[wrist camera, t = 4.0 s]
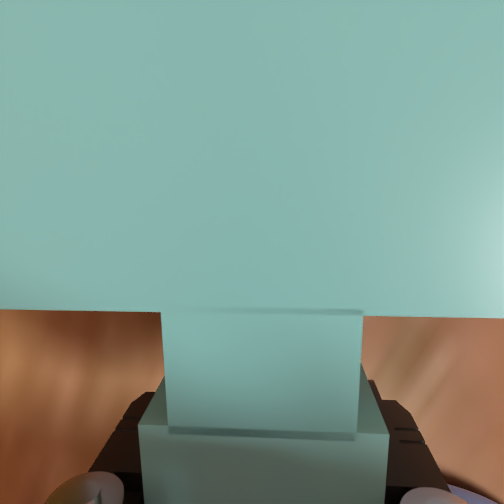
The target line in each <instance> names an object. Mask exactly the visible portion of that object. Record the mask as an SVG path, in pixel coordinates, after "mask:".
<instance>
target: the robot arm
mask: <svg viewBox="0 0 504 504" xmlns="http://www.w3.org/2000/svg"><path fill="white" fill-rule="evenodd" d="M368 382H369V385H370V387H371V390H372V392H373V395H374V397H375V400H376V402H377V405H378V407H379V410H380V412H381V415H382V417H383V420H384V422H385V425H386V427H387V430H388V432H389V447H388V461H387V474H386V487H385V500H384V504H468V503H467V502H466V501H464V500H463V499H461V498H460V497H458V496H456V495H454V494H452V493H451V491H450V489H449V487H448V485H447V483H446V481H445V479H444V477H443V475H442V473H441V471H440V470H439V468H438V466H437V464H436V462H435V460H434V458H433V456H432V454H431V452H430V450H429V448H428V446H427V445H425V441H424V439H423V437H422V435H421V433H420V431H418V427H417V425H416V423H415V421H414V419H413V417H412V415H411V414H410V413H409V412H408V411H407V410H406V409H405V408H404V407H402V406H401V405H400V404H399V403H398V402H397V401H396V400H382V399H381V397H380V394H379V392H378V390H377V387H376V385H375V383H374V381H373V380H368ZM155 393H156V392H145V393H144V394H143V395H141V396H140V397H139V398H137V399H136V400H135V401H133V402H132V403H131V404H130V406H129V408H128V409H127V411H126V412H125V414H124V416H123V419H122V420H120V422H119V424H118V425H117V427H116V428H115V431H113V433H112V435H111V436H110V438H109V439H108V441H107V443H106V444H105V446H104V447H103V449H102V451H101V452H100V454H99V455H98V457H97V459H96V460H95V462H94V463H93V465H92V467H91V468H90V470H89V471H88V473H84V474H81V475H78V476H76V477H74V478H72V479H70V480H68V481H66V482H65V483H63V484H62V485H60V486H59V487H58V488H57V489H56V490H55V491H54V492H53V493H52V494H51V495H50V496H49V498H48V499H47V501H46V502H45V504H144V493H143V481H142V469H141V457H140V445H139V433H138V423H139V422H140V420H141V418H142V416H143V414H144V412H145V411H146V409H147V407H148V405H149V403H150V402H151V400H152V398H153V396H154V394H155Z"/></svg>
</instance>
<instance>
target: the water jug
mask: <svg viewBox="0 0 504 504" xmlns="http://www.w3.org/2000/svg"><path fill="white" fill-rule="evenodd" d="M447 485H448V487H449V489H450V491H451V493H452V494H454V495H456V496H458V497H460V498H461V499H463V500H464V501H466V502H467V503H468V504H498V503H496V502H494V501H492V500H490V499H488V498H486V497H483V496H481V495H479V494H476V493H474V492H471V491H468V490H465V489H462V488H459V487H456V486H453V485H449V484H447Z"/></svg>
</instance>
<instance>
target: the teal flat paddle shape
mask: <svg viewBox="0 0 504 504" xmlns="http://www.w3.org/2000/svg"><path fill="white" fill-rule="evenodd" d="M0 309H14V310H71V311H127V312H161V325H162V340H163V356H164V371H165V376H164V378H163V380H162V382H161V383H160V385H159V387H158V389H157V391H156V393H155V394H154V396H153V398H152V400H151V402H150V403H149V405H148V407H147V409H146V411H145V412H144V414H143V416H142V418H141V420H140V422H139V423H138V433H139V445H140V457H141V469H142V481H143V493H144V504H384V500H385V487H386V474H387V461H388V447H389V432H388V430H387V427H386V425H385V422H384V420H383V417H382V415H381V412H380V410H379V407H378V405H377V402H376V400H375V397H374V395H373V392H372V390H371V387H370V385H369V382H368V380H367V377H366V375H365V372H364V370H363V367H362V365H361V346H362V328H363V316H410V317H467V318H504V0H0Z"/></svg>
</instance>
